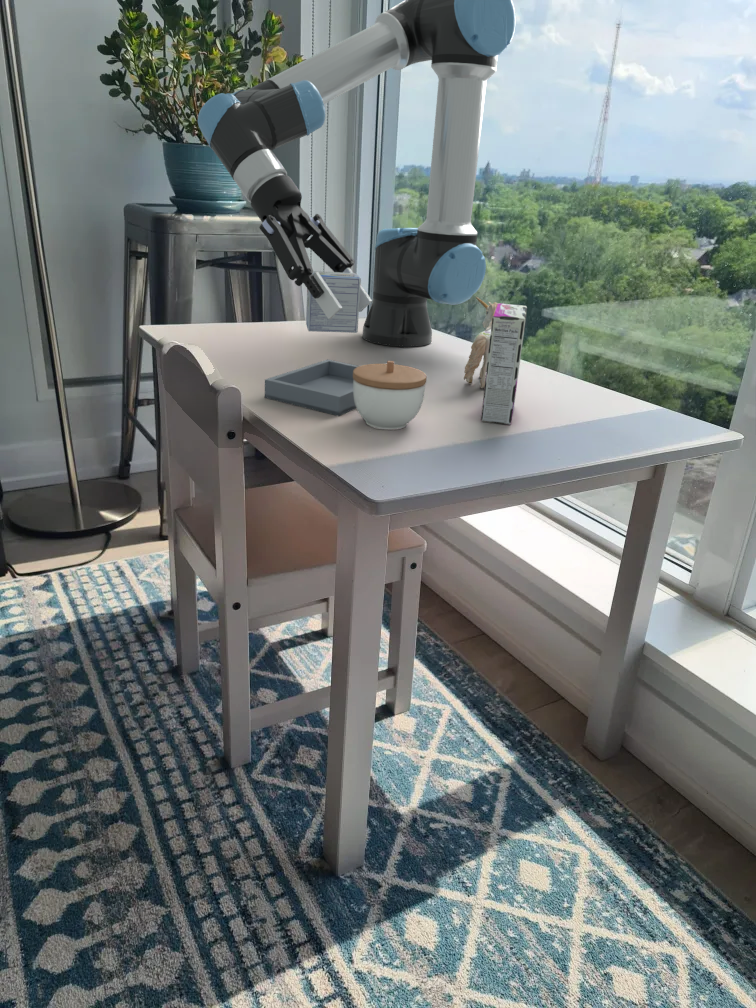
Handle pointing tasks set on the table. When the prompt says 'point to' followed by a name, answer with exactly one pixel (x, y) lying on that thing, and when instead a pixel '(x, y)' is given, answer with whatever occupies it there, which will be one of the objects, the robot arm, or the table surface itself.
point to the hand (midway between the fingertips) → (351, 309)
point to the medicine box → (347, 296)
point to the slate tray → (315, 387)
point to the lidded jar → (388, 394)
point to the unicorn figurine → (480, 347)
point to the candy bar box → (503, 363)
